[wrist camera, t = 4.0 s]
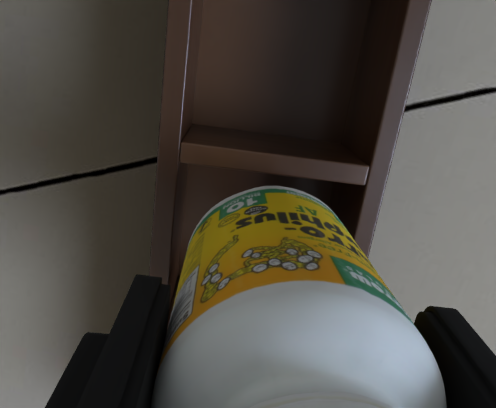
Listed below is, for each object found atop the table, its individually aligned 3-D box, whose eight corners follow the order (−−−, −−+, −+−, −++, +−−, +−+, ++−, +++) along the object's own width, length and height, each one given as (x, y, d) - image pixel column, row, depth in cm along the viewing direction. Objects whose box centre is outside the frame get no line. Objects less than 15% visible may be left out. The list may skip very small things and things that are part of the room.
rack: (153, 396, 22) (135, 478, 18) (192, -70, 16) (176, -119, 11) (296, 408, 23) (311, 490, 19) (392, -37, 16) (450, -72, 12)
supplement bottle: (168, 305, 15) (55, 704, 5) (215, 158, 13) (171, 368, 4) (314, 345, 15) (433, 763, 6) (375, 210, 14) (653, 494, 5)
